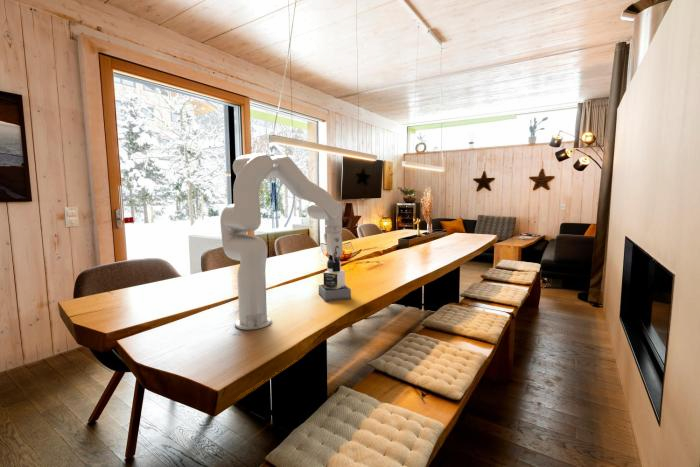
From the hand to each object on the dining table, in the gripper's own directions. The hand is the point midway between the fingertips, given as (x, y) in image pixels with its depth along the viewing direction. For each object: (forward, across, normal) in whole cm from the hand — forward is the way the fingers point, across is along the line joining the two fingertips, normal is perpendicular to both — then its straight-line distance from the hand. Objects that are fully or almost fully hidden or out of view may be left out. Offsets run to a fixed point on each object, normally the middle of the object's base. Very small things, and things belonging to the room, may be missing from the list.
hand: (334, 269), depth 156 cm
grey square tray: (+12, 0, 0) cm, 12 cm away
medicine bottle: (+8, 0, 0) cm, 8 cm away
